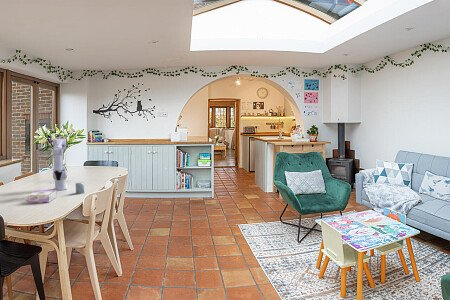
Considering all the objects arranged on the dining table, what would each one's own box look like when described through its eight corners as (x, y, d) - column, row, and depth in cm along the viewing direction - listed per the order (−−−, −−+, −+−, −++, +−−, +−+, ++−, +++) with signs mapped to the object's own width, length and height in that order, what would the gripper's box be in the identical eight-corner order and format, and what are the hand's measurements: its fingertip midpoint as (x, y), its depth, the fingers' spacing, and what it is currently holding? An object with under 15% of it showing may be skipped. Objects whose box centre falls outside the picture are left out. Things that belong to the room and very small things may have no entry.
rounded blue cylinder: (74, 192, 245) (74, 183, 245) (82, 191, 249) (82, 182, 249) (77, 194, 241) (76, 184, 240) (85, 193, 245) (84, 183, 244)
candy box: (36, 198, 228) (27, 203, 212) (36, 190, 228) (26, 195, 212) (56, 197, 231) (49, 202, 215) (56, 189, 231) (48, 194, 214)
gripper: (50, 162, 245) (50, 179, 246) (54, 164, 234) (54, 182, 235) (60, 162, 250) (60, 178, 251) (64, 163, 239) (65, 181, 240)
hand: (58, 180), depth 243 cm, fingers closed
